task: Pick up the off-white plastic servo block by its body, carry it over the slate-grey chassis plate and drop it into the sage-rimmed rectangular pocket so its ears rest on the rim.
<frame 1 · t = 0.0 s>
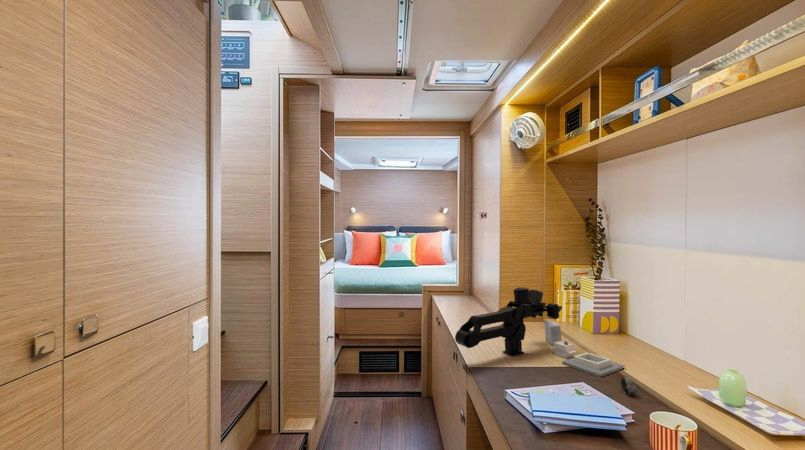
hand: (553, 305, 174), 17 cm above the table, tool horizontal, fingers open, 9 cm apart
servo block: (563, 355, 156), on the table
chassis plate: (592, 366, 143), on the table
dark grey lumpy piece: (629, 394, 120), on the table
medicine box: (553, 343, 173), on the table
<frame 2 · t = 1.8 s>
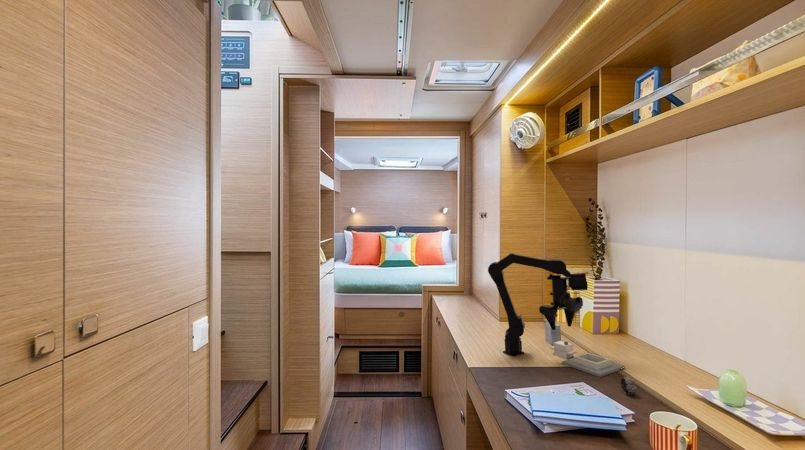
hand: (561, 328, 157), 11 cm above the table, tool pointing down, fingers open, 9 cm apart
nothing on the table moved.
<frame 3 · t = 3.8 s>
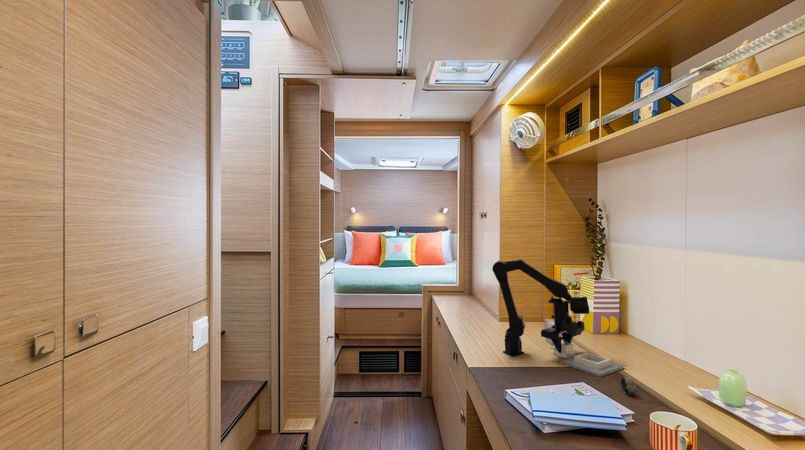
hand: (563, 351, 156), 2 cm above the table, tool pointing down, fingers closed on servo block, 4 cm apart
servo block: (563, 355, 156), on the table, touching gripper
everything else where it was.
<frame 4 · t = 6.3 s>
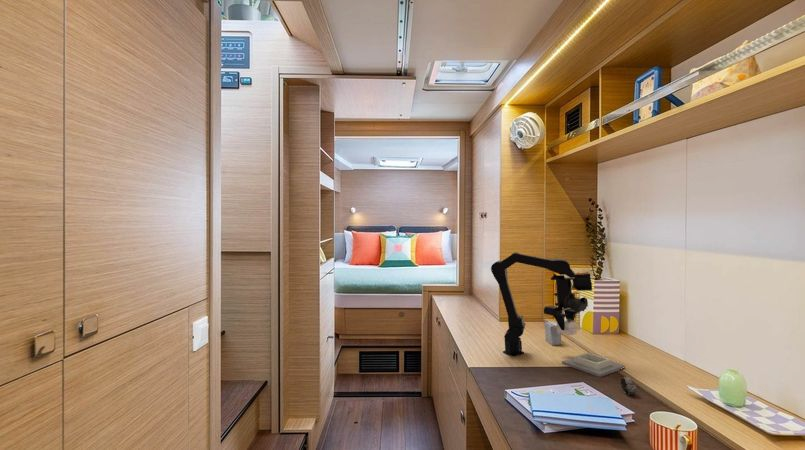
hand: (566, 329, 154), 11 cm above the table, tool pointing down, fingers closed on servo block, 4 cm apart
servo block: (566, 333, 154), point 10 cm above the table, touching gripper
everything else where it was.
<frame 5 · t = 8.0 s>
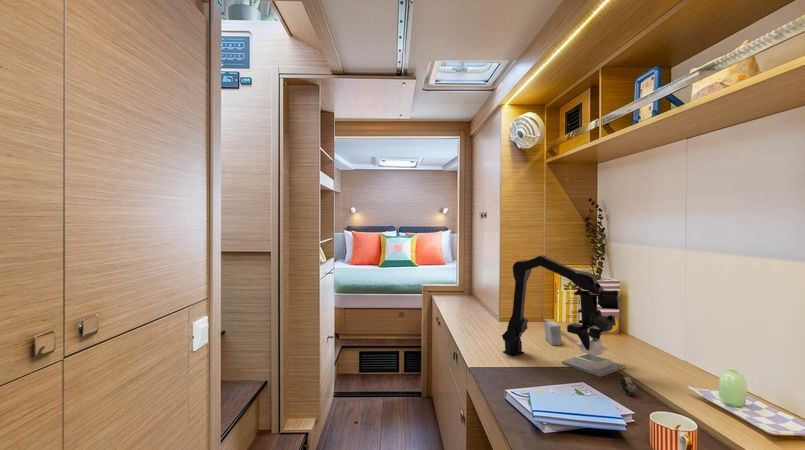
hand: (591, 348, 144), 6 cm above the table, tool pointing down, fingers closed on servo block, 4 cm apart
servo block: (591, 352, 144), point 5 cm above the table, touching gripper
everything else where it was.
when the fingers open (4 cm above the table, at t = 9.2 s): servo block drops 1 cm, resting on chassis plate.
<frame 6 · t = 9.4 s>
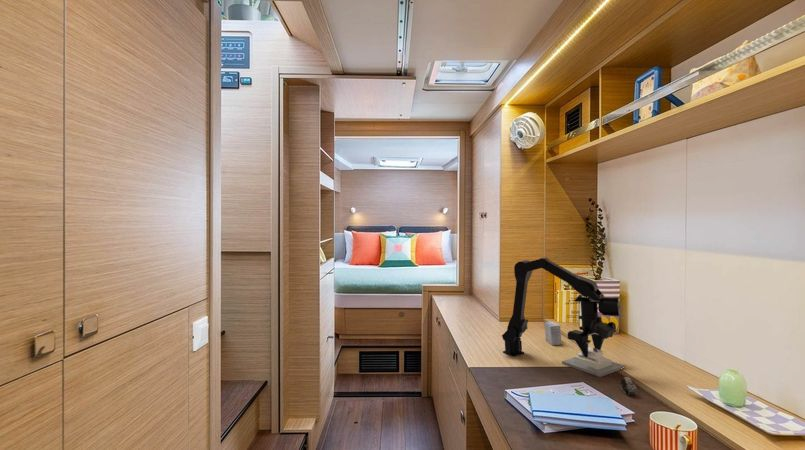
hand: (592, 355, 143), 4 cm above the table, tool pointing down, fingers open, 6 cm apart
servo block: (592, 363, 143), point 1 cm above the table, touching chassis plate
everything else where it was.
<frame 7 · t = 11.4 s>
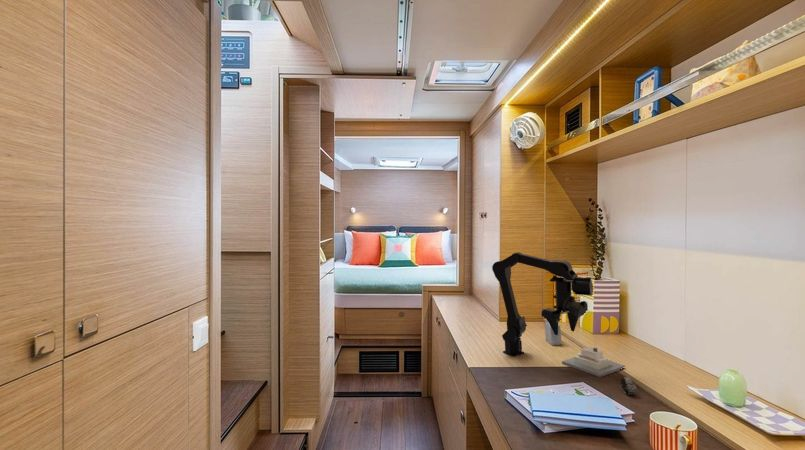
hand: (564, 332, 150), 11 cm above the table, tool pointing down, fingers open, 9 cm apart
nothing on the table moved.
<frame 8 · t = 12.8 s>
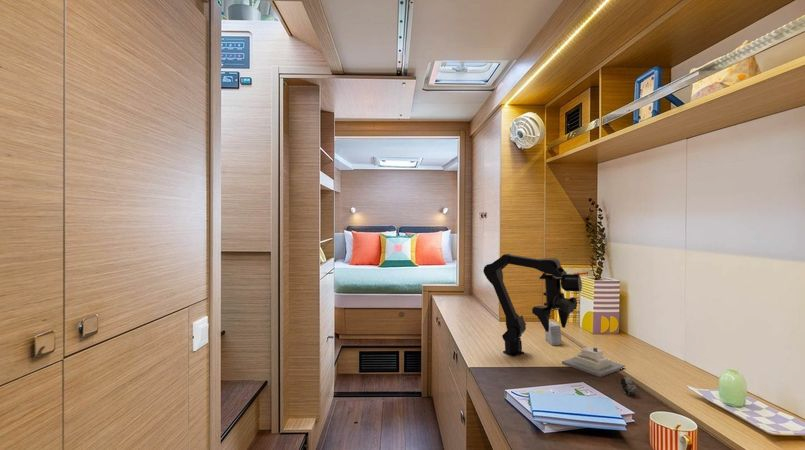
hand: (555, 329, 152), 12 cm above the table, tool pointing down, fingers open, 9 cm apart
nothing on the table moved.
at the end: servo block 0.0 cm off-centre on the chassis plate, point 1.0 cm above the chassis plate's base; servo block tilted 0°; the gripper is holding nothing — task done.
